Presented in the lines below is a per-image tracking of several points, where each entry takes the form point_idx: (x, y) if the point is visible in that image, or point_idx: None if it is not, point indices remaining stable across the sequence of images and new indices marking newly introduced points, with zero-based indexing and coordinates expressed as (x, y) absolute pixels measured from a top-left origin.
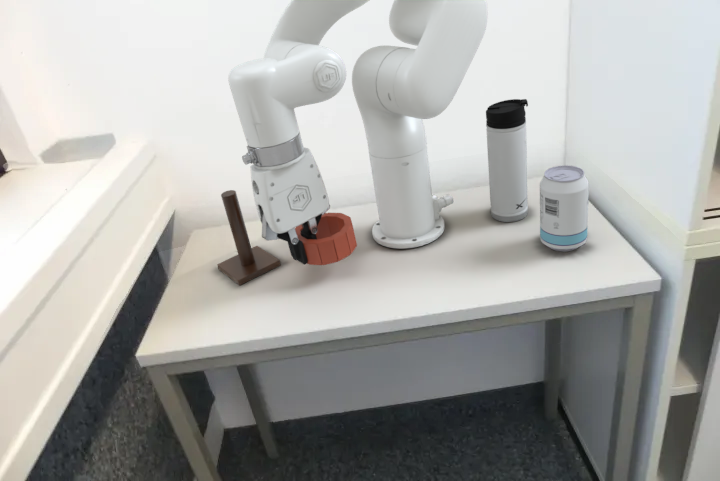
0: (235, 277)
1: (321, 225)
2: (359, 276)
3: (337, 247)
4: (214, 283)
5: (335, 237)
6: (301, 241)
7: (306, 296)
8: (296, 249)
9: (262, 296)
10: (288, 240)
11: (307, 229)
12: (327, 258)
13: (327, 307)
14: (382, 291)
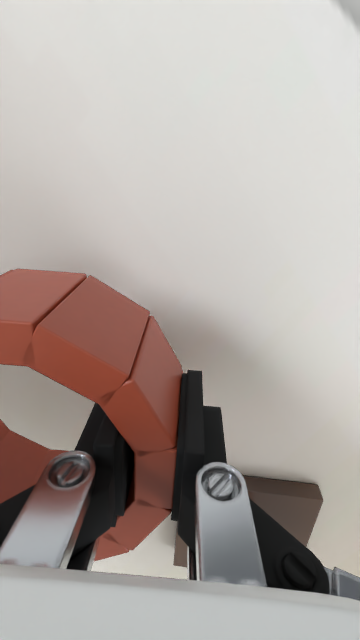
0: (315, 514)
1: (2, 492)
2: (56, 225)
3: (46, 296)
4: (342, 535)
5: (8, 330)
6: (178, 458)
7: (251, 288)
8: (211, 441)
9: (325, 400)
10: (251, 510)
11: (97, 505)
12: (120, 309)
13: (259, 163)
14: (49, 48)
